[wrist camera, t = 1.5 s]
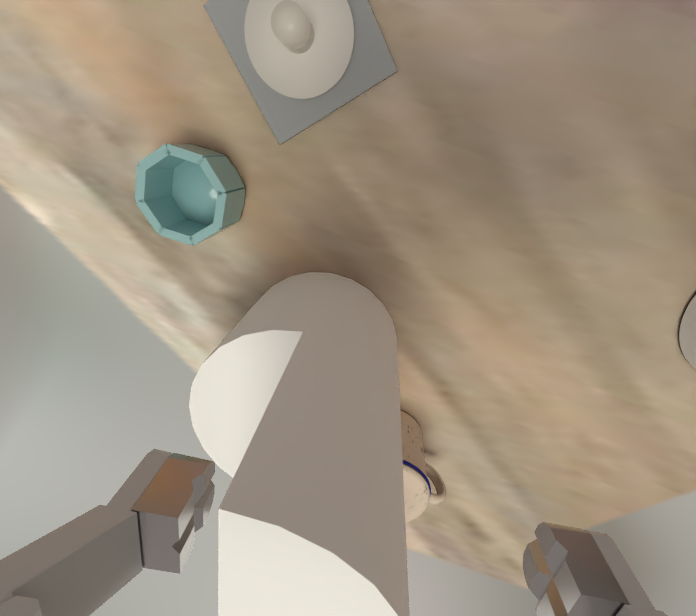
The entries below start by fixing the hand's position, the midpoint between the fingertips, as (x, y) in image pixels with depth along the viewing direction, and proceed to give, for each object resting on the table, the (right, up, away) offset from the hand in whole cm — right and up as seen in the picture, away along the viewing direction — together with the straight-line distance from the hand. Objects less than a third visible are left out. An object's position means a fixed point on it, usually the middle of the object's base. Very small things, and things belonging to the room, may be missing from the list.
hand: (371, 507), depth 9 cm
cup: (-15, +17, +28) cm, 36 cm away
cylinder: (-4, +1, +33) cm, 34 cm away
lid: (-4, +27, +22) cm, 35 cm away
